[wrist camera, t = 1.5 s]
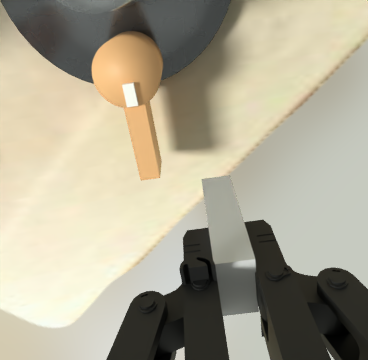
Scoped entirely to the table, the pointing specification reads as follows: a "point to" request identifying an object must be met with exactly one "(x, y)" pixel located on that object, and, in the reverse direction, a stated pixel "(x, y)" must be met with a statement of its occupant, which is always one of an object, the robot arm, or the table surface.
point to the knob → (133, 91)
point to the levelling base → (116, 28)
